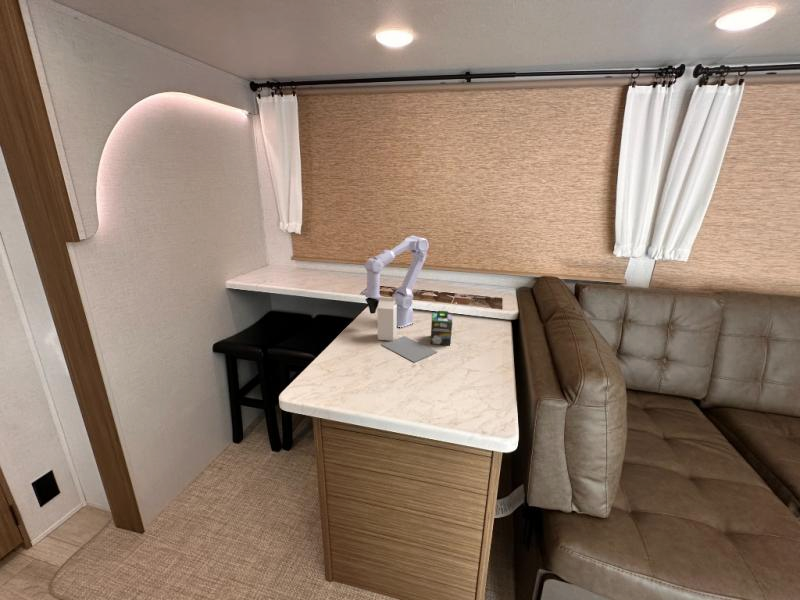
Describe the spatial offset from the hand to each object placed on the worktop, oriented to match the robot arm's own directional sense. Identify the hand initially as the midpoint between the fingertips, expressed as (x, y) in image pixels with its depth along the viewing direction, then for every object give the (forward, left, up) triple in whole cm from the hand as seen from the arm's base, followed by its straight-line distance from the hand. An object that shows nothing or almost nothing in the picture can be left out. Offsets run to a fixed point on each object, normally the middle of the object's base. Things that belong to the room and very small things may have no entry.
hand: (372, 313), depth 164 cm
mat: (0, +25, -9) cm, 26 cm away
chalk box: (-17, +28, -9) cm, 34 cm away
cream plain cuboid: (0, +11, -9) cm, 14 cm away
